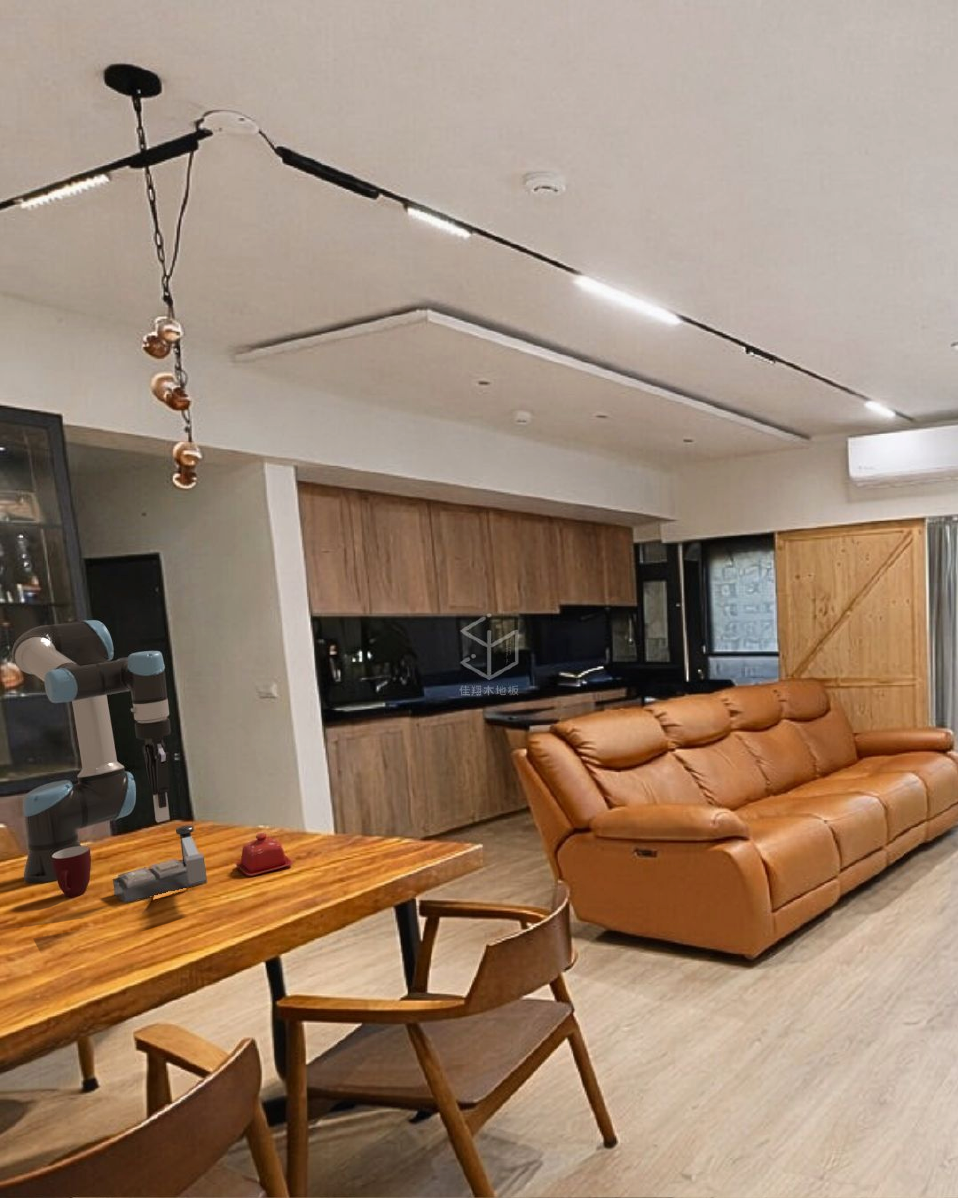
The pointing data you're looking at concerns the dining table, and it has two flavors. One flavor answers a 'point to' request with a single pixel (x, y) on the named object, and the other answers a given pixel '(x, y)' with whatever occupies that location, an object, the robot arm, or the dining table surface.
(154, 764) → the robot arm
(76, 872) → the mug
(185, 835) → the grey stepped machine part
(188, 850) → the light grey bar
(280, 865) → the butter dish
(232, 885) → the dining table surface
